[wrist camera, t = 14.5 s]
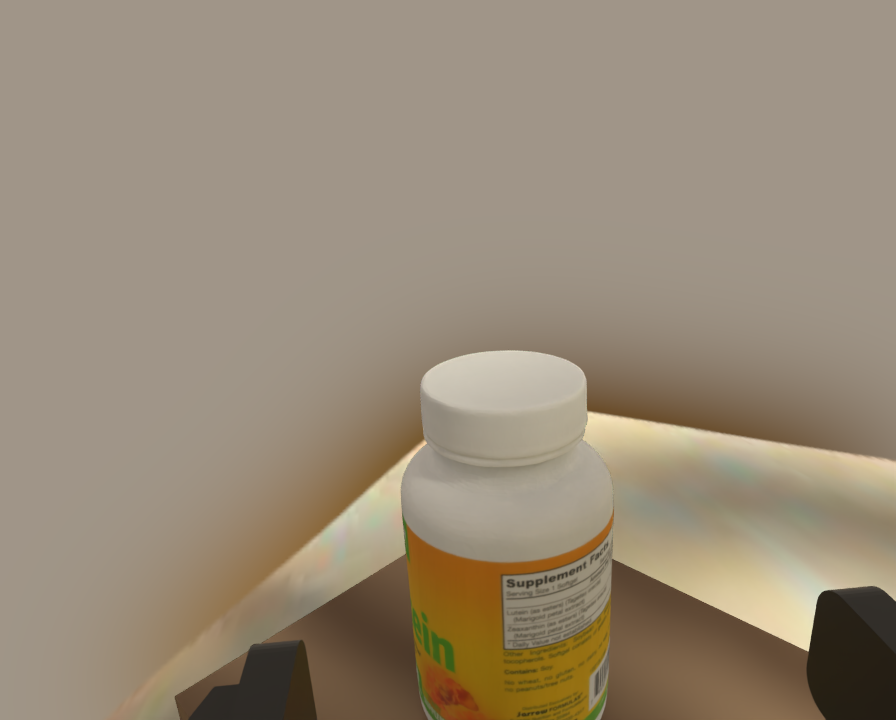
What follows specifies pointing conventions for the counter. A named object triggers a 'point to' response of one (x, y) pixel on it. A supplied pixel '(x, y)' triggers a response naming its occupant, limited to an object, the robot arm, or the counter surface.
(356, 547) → the counter surface
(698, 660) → the walnut block
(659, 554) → the counter surface
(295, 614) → the counter surface
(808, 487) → the counter surface
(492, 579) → the supplement bottle
